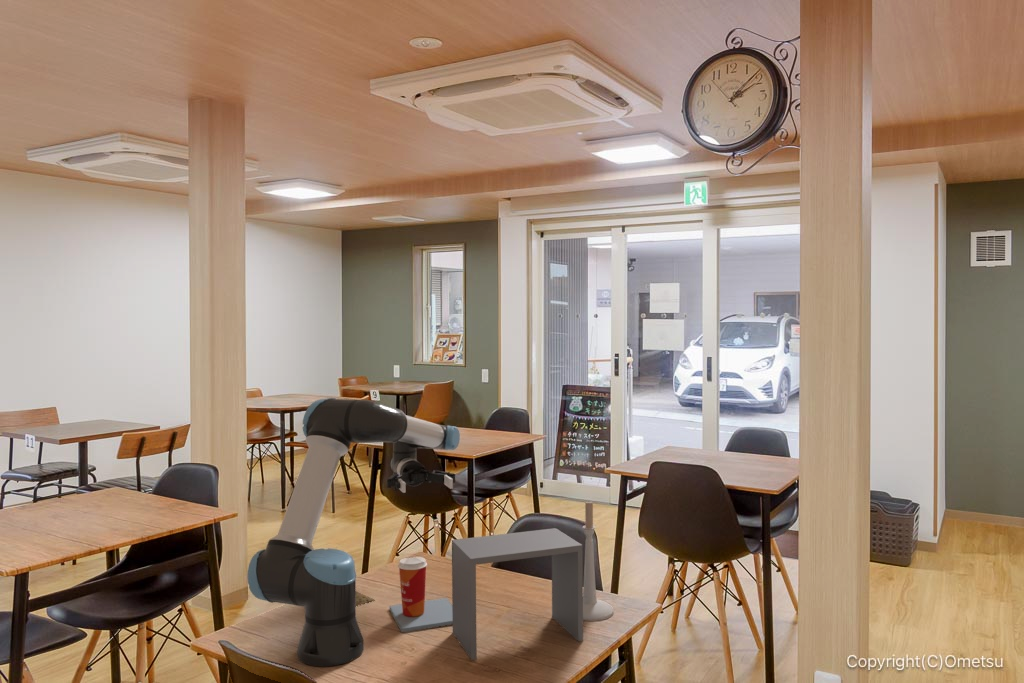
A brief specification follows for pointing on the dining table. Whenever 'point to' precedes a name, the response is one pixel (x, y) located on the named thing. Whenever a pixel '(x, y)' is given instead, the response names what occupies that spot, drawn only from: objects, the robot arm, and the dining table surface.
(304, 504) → the robot arm
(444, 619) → the mat
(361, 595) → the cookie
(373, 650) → the dining table surface
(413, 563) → the paper cup
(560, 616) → the shelf riser
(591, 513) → the candlestick
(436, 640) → the dining table surface
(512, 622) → the dining table surface
